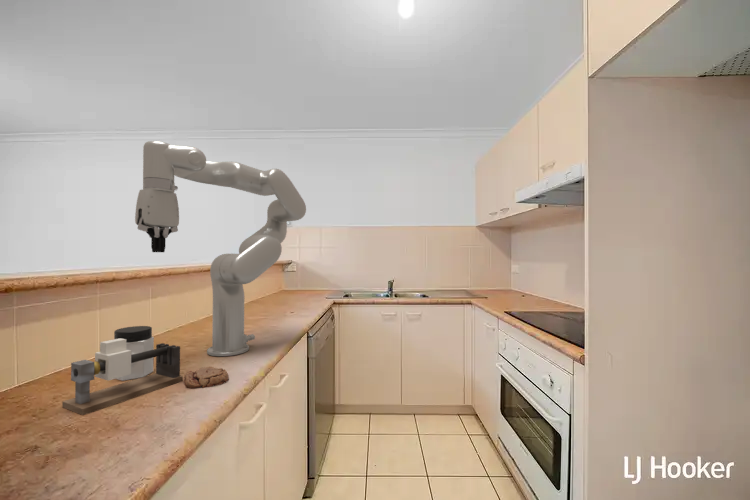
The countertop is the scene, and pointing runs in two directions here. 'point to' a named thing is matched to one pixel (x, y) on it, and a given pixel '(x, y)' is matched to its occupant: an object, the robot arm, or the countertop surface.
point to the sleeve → (114, 359)
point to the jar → (137, 349)
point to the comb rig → (109, 396)
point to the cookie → (206, 377)
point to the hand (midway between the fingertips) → (158, 252)
